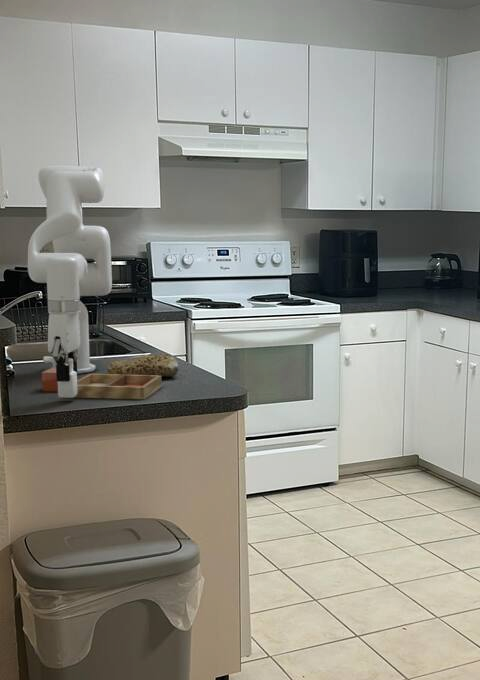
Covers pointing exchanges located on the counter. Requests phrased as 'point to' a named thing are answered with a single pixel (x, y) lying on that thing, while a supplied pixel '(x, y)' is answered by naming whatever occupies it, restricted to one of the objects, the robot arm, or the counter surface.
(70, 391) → the salt shaker
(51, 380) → the clay block
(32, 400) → the counter surface
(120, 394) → the tray
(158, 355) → the sponge
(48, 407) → the counter surface
